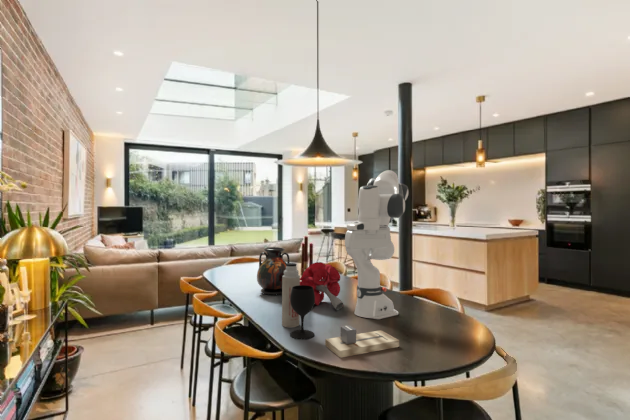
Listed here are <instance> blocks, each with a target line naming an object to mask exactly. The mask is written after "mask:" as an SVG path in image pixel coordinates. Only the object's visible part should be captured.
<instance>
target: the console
mask: <svg viewBox="0 0 630 420" xmlns="http://www.w3.org/2000/svg"><path fill="white" fill-rule="evenodd" d="M340 339H341V336H336V337H331V338H325V339H324V342H325V343H324V344H325V347H326V348H327V349H329V350H330V351H331V352H333V354H335V355H336V356H337V357H338V358H341V359H342V358H346V357H352V356H357V355H362V354H367V353H373V352H378V351H385V350H388V349H395V348H398V347H400V339H398V338H396V337H394V336H392V335H391V334H388V333H387V332H385V331H383V330H375V331H367V332H362V333H356V343H351V344H346V343H345V342H343V341H342V340H340Z"/></svg>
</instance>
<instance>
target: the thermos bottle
mask: <svg viewBox="0 0 630 420" xmlns="http://www.w3.org/2000/svg"><path fill="white" fill-rule="evenodd" d="M286 263H287V262H286ZM299 273H300V272H299V270H297V263H296V262H290V263H287V264H286V270H285V271H284V275H283V276H282V295H281V298H282V299H281V301H282V302H281V325H282V327H285V328H297V327H299V326H300V315H299V314H297V313H296V312H295V311H294V310H293V308H292V306H291V302H290V295H291V291H292V288H293V287H294V286H299V285H300V282H301V280H300V278H301V277H300V275H299Z"/></svg>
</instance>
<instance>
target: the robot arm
mask: <svg viewBox="0 0 630 420" xmlns="http://www.w3.org/2000/svg"><path fill="white" fill-rule="evenodd" d="M409 193H410V192H409V187H408V185H406V184H404V183H400V182H399V177H398V174H397V173H396V172H395V171H393V170H391V169H387V170H384V171H382V172H381V173H380V174H378V175H377V176H375V177H372V178H369V180H368V182H367V184H366V185H362V186H360V188H359V191H358V196H357V198H358V201H357V209H358V215H357V220H355V221H353V222H349V223H347V224H346V230H347V231H346V232H345V236H344V247H345V251H346V253H347V255H348V256H350V258H351V259H352V260H353V262H354V264H355V267H356V271H357V286H356V305H355V310H354V312H353V313H354V315H355V316H358V317H362V318H367V319H374V320H381V319H387V318H390V317H394V316H398V315H399V311H398V310H396V309H395V307H394V302H393V300H391V299H390V297H388V296H387V295H386V294H384V293H385V292H387V290H388V289H387V287H384V286H383V287H382V286H381V273H380V270H379V268H378V267H377V266H375V265H373V263H372V261H371V260H377V261H387V260H390V259H391V258H392V257H393V256H394V254H395V246H394V242H393V241H392V239H391V228H390V226H389V224H390V221H391V218H393V219H394V218H395V219H398V218H400V217H402V216H403V215H404V214H405V211H406V201H407V199H408V196H409Z"/></svg>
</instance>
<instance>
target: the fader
mask: <svg viewBox="0 0 630 420" xmlns="http://www.w3.org/2000/svg"><path fill="white" fill-rule="evenodd" d="M356 334H357V328H355V327H353V326H351V325H350V324H348V325H342V326H341V325H340V337H341V339H340V340H342V341H343V342H345V343H346V344H351V343H356Z"/></svg>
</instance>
